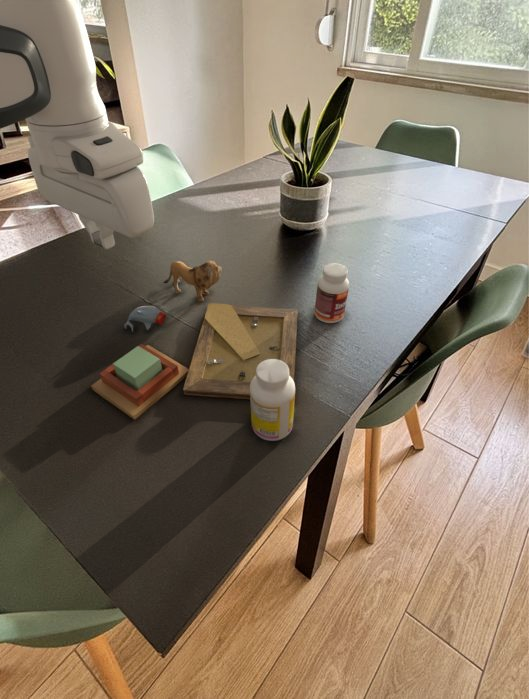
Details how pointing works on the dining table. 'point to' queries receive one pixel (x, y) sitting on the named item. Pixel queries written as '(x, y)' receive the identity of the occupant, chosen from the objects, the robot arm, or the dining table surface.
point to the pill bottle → (332, 293)
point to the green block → (137, 368)
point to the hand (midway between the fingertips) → (104, 244)
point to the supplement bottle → (272, 400)
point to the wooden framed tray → (149, 393)
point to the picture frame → (239, 348)
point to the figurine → (146, 316)
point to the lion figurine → (195, 276)
